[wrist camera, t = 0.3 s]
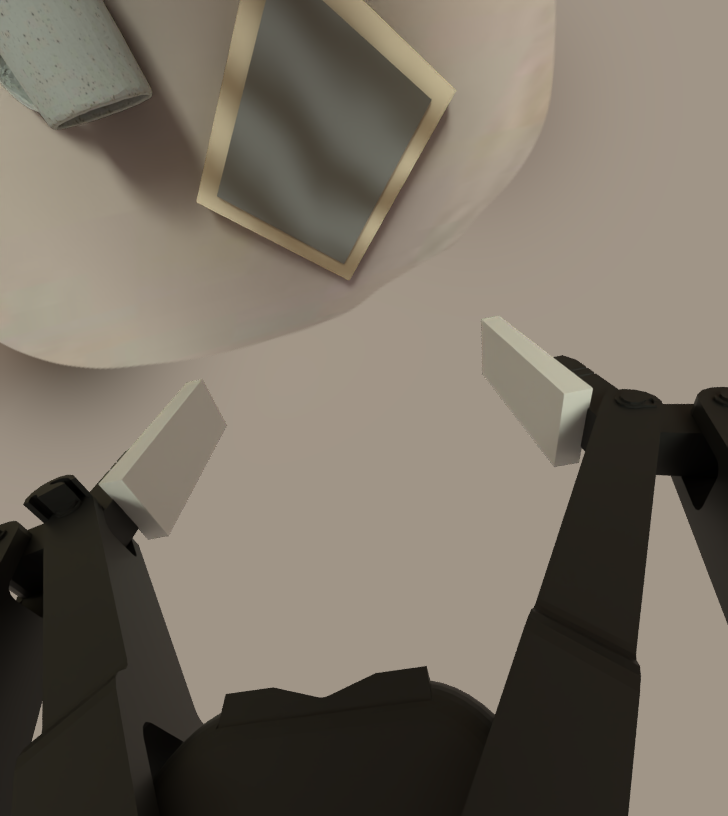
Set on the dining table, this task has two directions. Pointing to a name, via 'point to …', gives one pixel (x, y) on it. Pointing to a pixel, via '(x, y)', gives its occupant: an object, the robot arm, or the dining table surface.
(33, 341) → the dining table surface
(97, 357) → the dining table surface
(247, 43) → the wooden picture frame
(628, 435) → the robot arm
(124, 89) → the ceramic mug
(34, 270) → the dining table surface
